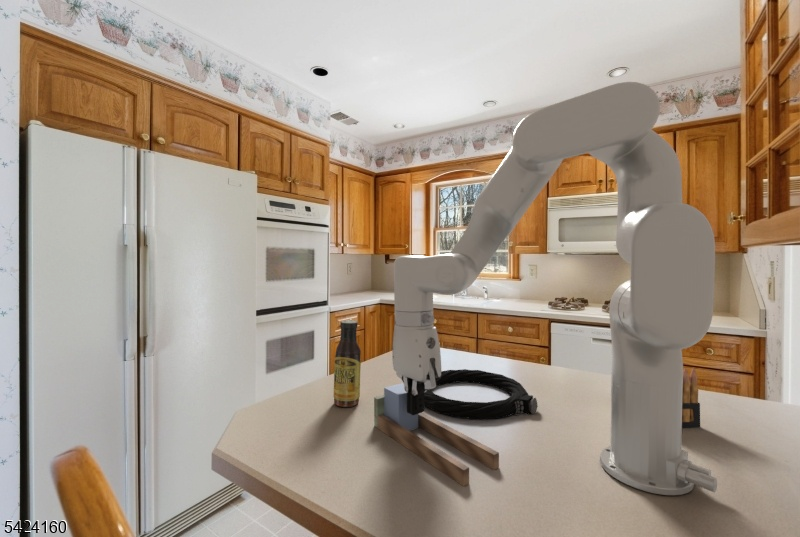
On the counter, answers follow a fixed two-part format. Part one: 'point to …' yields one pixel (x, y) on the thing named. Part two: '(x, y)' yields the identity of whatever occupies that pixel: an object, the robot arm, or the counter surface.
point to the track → (431, 452)
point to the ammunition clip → (690, 401)
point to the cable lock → (481, 410)
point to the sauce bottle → (347, 367)
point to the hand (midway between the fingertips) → (415, 412)
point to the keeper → (398, 407)
